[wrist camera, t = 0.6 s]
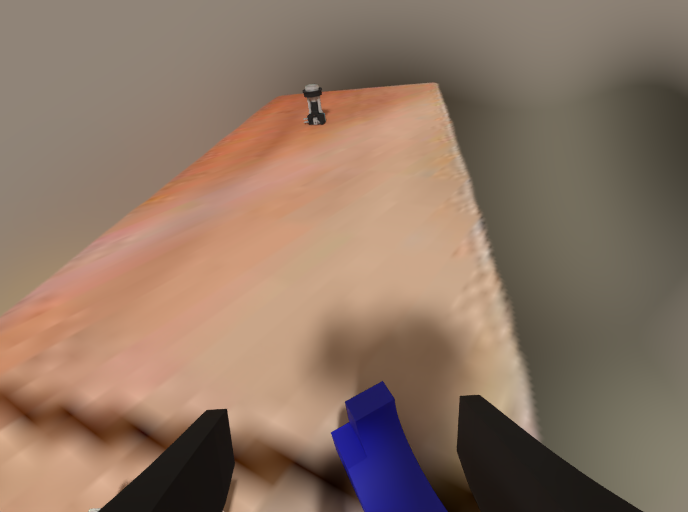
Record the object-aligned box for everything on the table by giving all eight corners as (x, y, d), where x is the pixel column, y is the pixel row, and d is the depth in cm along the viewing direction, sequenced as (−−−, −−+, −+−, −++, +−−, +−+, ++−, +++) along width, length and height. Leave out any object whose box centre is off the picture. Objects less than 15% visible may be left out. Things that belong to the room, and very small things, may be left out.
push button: (301, 126, 92) (294, 88, 86) (307, 121, 96) (301, 84, 90) (323, 126, 91) (318, 87, 85) (328, 120, 95) (323, 82, 89)
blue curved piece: (336, 449, 25) (324, 412, 21) (385, 420, 26) (382, 380, 23) (438, 676, 16) (449, 681, 13) (503, 615, 18) (531, 603, 14)
